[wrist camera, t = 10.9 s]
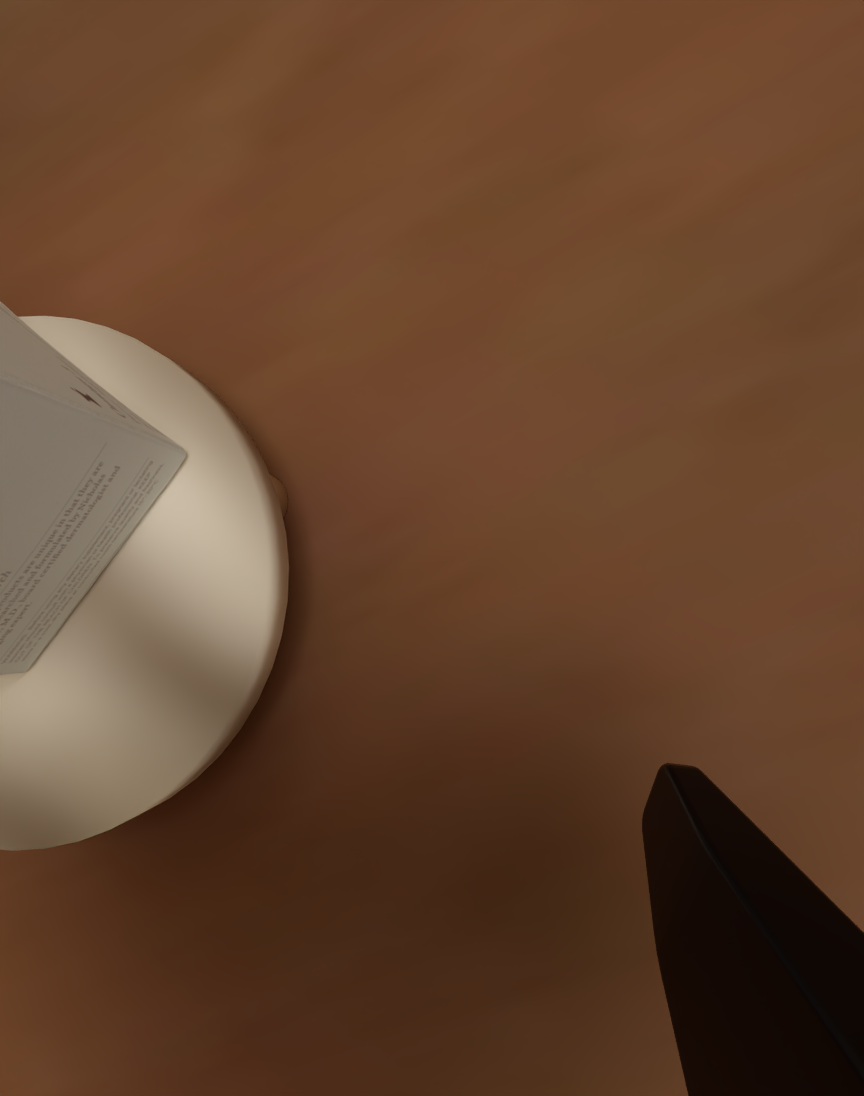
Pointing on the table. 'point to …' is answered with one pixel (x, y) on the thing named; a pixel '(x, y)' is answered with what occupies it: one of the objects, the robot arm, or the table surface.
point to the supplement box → (63, 486)
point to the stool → (150, 619)
